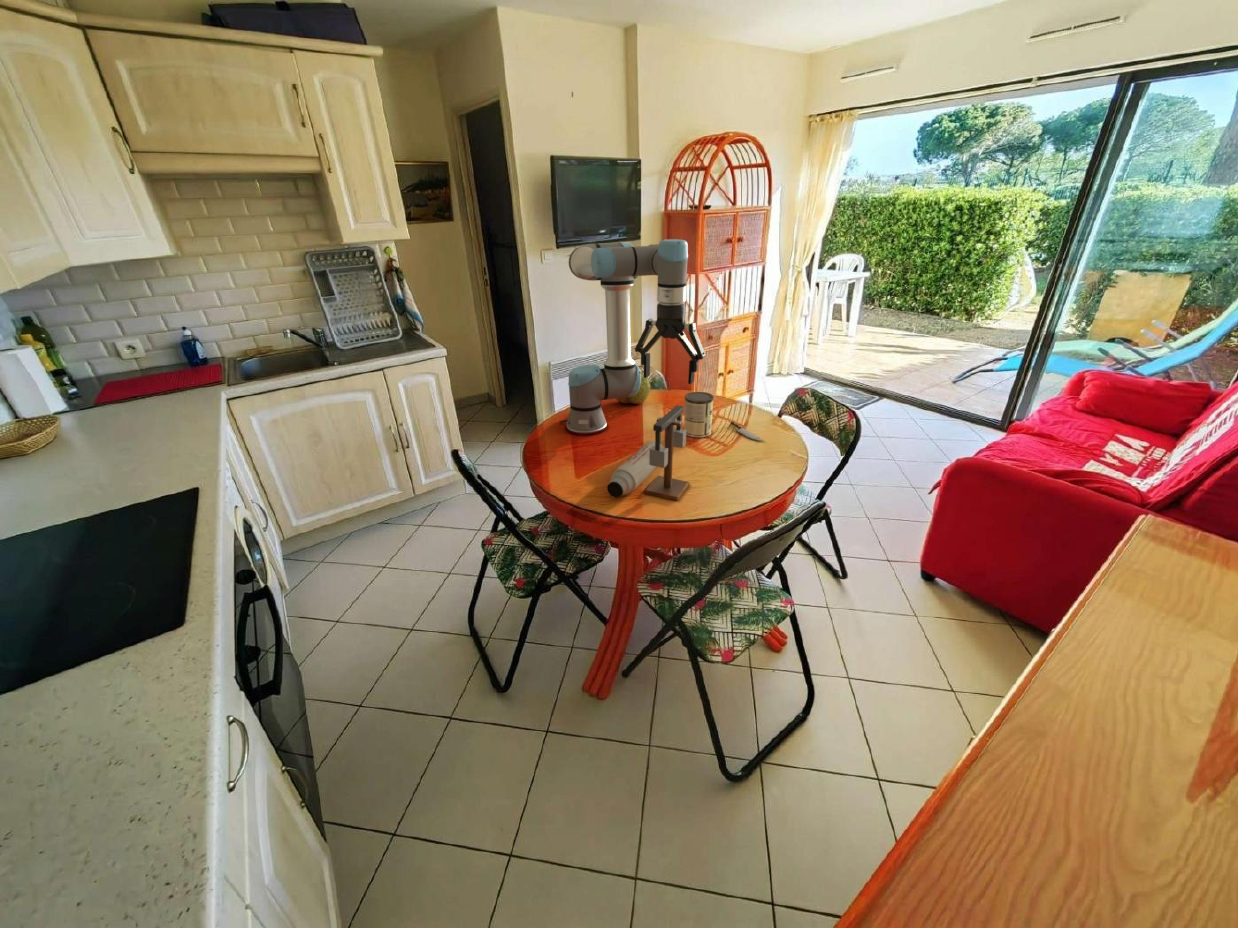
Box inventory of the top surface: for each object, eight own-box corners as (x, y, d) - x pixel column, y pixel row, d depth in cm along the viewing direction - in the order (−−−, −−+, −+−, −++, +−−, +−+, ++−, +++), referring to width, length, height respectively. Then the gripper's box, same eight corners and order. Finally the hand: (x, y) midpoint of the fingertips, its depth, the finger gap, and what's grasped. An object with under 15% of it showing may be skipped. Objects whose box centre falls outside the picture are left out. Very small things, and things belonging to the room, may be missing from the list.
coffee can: (683, 426, 195) (684, 391, 189) (710, 427, 194) (712, 391, 188) (683, 437, 186) (685, 400, 179) (712, 438, 185) (714, 401, 178)
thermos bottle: (642, 439, 166) (600, 476, 144) (664, 441, 162) (625, 479, 140) (644, 462, 169) (603, 500, 147) (666, 464, 165) (628, 504, 143)
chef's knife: (756, 444, 180) (763, 441, 181) (757, 441, 179) (764, 439, 180) (725, 425, 195) (732, 423, 196) (725, 422, 195) (732, 420, 196)
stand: (645, 493, 149) (645, 423, 140) (658, 478, 157) (659, 412, 148) (677, 500, 145) (680, 429, 136) (689, 485, 153) (692, 417, 144)
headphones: (649, 465, 140) (649, 424, 135) (671, 442, 154) (673, 404, 149) (664, 468, 138) (665, 427, 133) (685, 444, 152) (687, 406, 147)
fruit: (615, 410, 212) (605, 375, 211) (621, 411, 226) (611, 378, 225) (653, 398, 209) (642, 363, 208) (656, 399, 223) (646, 366, 223)
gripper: (623, 301, 138) (623, 377, 148) (712, 308, 128) (706, 389, 138) (634, 297, 144) (634, 370, 154) (720, 303, 134) (714, 381, 144)
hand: (668, 379), depth 146 cm, fingers open, 13 cm apart
